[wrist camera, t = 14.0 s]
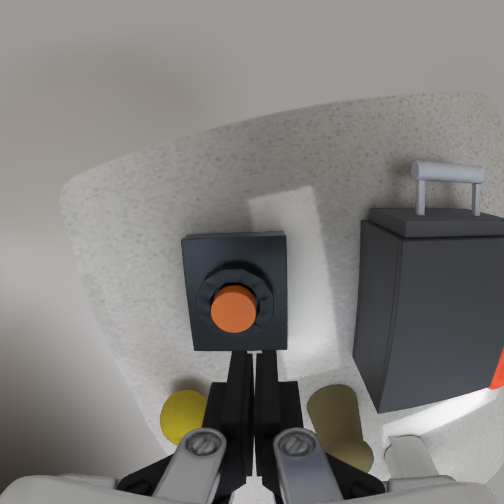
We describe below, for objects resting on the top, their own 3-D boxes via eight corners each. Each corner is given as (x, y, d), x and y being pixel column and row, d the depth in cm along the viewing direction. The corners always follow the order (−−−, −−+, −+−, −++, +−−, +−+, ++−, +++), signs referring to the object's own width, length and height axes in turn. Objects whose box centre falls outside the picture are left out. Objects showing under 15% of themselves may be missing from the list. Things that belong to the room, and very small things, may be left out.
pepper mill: (302, 421, 34) (311, 491, 23) (312, 383, 33) (328, 456, 22) (348, 421, 34) (368, 488, 23) (363, 385, 33) (391, 452, 22)
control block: (186, 234, 29) (175, 244, 25) (284, 230, 29) (287, 239, 25) (198, 340, 32) (190, 360, 28) (286, 338, 31) (288, 359, 28)
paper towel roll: (417, 455, 36) (461, 559, 15) (381, 465, 37) (416, 578, 16) (426, 425, 35) (484, 538, 14) (388, 435, 35) (435, 561, 14)
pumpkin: (462, 381, 33) (484, 409, 26) (474, 330, 31) (502, 355, 25) (499, 368, 32) (522, 392, 26) (512, 319, 30) (540, 339, 24)
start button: (212, 285, 27) (208, 292, 25) (255, 283, 26) (254, 291, 25) (215, 323, 27) (213, 333, 26) (257, 323, 27) (256, 332, 26)
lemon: (191, 417, 35) (178, 465, 27) (161, 387, 34) (140, 433, 26) (227, 401, 34) (219, 451, 26) (196, 369, 33) (180, 417, 25)
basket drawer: (369, 161, 26) (405, 157, 19) (468, 167, 26) (517, 170, 18) (362, 341, 30) (385, 386, 23) (452, 329, 30) (488, 364, 22)
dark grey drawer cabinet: (360, 220, 28) (402, 241, 19) (466, 219, 28) (525, 237, 19) (352, 356, 32) (377, 414, 22) (449, 342, 31) (490, 386, 22)
